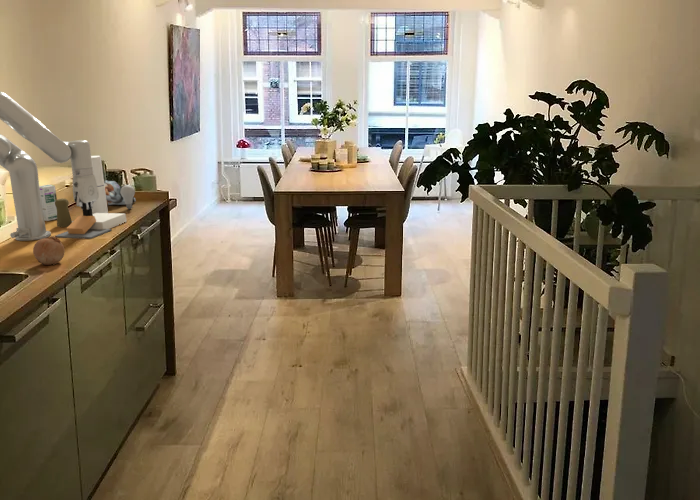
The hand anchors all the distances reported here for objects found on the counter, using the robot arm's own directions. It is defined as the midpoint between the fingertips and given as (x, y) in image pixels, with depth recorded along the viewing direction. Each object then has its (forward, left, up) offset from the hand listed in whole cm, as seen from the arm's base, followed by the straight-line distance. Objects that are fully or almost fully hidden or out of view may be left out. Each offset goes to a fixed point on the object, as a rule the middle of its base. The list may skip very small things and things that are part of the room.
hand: (88, 218), depth 286 cm
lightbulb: (+39, +7, -5) cm, 39 cm away
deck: (+7, 0, -4) cm, 8 cm away
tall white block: (+28, +15, -5) cm, 32 cm away
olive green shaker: (+6, +16, -5) cm, 17 cm away
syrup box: (+16, +31, -5) cm, 35 cm away
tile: (-5, -1, -2) cm, 6 cm away
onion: (-46, -18, -5) cm, 50 cm away
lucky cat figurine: (+49, +19, -5) cm, 52 cm away
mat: (-7, -2, -4) cm, 8 cm away
